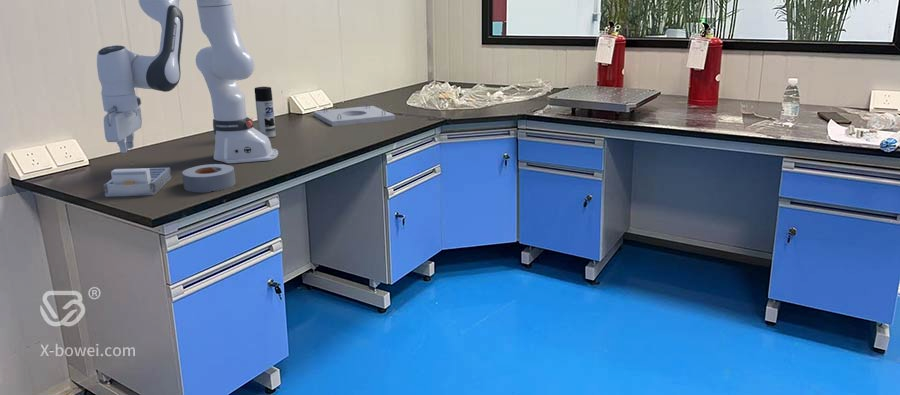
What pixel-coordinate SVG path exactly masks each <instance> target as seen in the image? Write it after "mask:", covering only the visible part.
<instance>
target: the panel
mask: <svg viewBox="0 0 900 395" xmlns="http://www.w3.org/2000/svg"><path fill="white" fill-rule="evenodd" d="M149 168H150V167H149ZM149 168H148V167H147V168H145V167H144V168H143V167H141V168H114V169H113V170H111V171H110V175H111V179H112V181H113V184H123V182H132V181H135V183H151V176H150V169H149Z"/></svg>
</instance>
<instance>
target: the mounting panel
mask: <svg viewBox="0 0 900 395" xmlns="http://www.w3.org/2000/svg"><path fill="white" fill-rule="evenodd" d="M313 117H315V118H317V119H318V120H320V121H322V122H324V123H326V124H328V125H329V126H332V127H338V126H339V127H341V126H347V125H348V126H349V125H358V124H366V123H367V124H369V123H376V122H378V123H379V122H387V121H395V120H396V114H394V113H391V112H389V111H386V109H382V108H380V107H377V106H375V105H369V103H366V104H365V106H356V107H346V108H344V107H343V108H335V109H328V108H327V107H323V110H314V111H313Z"/></svg>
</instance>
